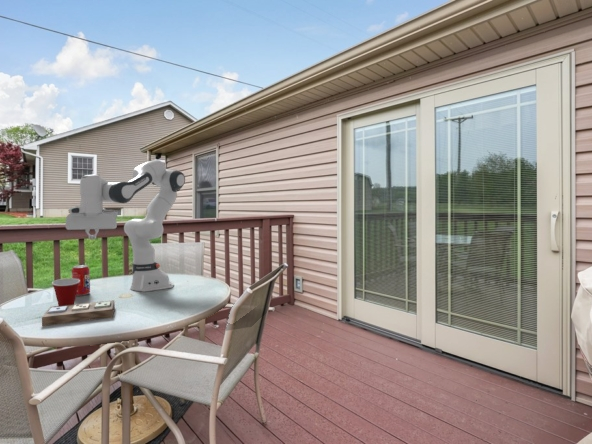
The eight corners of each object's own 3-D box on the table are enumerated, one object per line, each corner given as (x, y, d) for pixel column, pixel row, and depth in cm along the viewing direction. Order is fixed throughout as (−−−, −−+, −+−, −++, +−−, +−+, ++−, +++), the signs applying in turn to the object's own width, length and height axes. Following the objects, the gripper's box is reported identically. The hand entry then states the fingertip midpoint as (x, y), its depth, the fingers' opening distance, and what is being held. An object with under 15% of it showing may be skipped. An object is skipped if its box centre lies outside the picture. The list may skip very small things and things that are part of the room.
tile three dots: (89, 310, 143) (89, 303, 143) (87, 314, 139) (87, 306, 138) (74, 312, 141) (74, 304, 141) (72, 316, 136) (72, 308, 136)
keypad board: (114, 307, 151) (114, 300, 151) (112, 317, 139) (112, 309, 139) (50, 314, 141) (50, 306, 141) (42, 326, 128) (41, 317, 128)
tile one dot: (67, 312, 140) (67, 305, 140) (65, 317, 135) (64, 309, 135) (51, 314, 138) (51, 307, 137) (48, 318, 133) (48, 311, 133)
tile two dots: (110, 308, 147) (110, 301, 147) (109, 311, 142) (109, 304, 142) (96, 309, 145) (96, 302, 144) (94, 313, 140) (94, 306, 139)
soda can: (68, 295, 170) (68, 266, 169) (84, 291, 177) (83, 264, 176) (77, 297, 167) (76, 268, 166) (93, 293, 174) (92, 265, 173)
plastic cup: (59, 311, 145) (58, 284, 145) (47, 307, 151) (47, 281, 150) (85, 305, 154) (84, 280, 154) (74, 301, 160) (73, 277, 159)
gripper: (117, 209, 160) (118, 237, 161) (67, 209, 151) (67, 239, 152) (116, 209, 155) (117, 238, 155) (64, 209, 146) (65, 240, 147)
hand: (92, 239), depth 154 cm, fingers closed
